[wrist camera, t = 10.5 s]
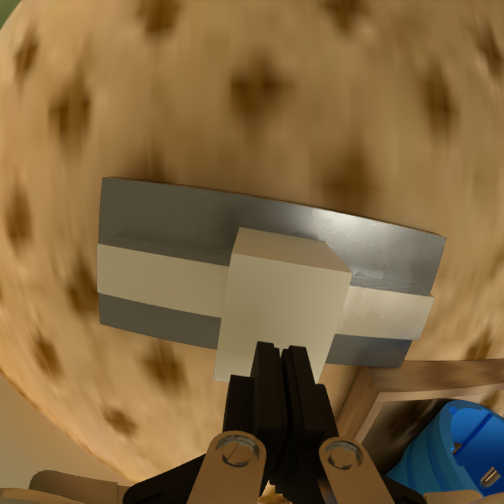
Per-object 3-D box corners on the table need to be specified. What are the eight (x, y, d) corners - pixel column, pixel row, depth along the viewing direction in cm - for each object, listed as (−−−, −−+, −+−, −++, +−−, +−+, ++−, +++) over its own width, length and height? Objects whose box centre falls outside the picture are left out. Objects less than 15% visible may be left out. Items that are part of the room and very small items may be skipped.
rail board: (437, 233, 18) (463, 245, 15) (395, 358, 21) (410, 382, 18) (111, 176, 18) (86, 179, 15) (107, 316, 20) (87, 337, 17)
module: (326, 242, 17) (353, 273, 12) (301, 338, 19) (314, 392, 14) (239, 227, 17) (231, 253, 12) (223, 326, 19) (212, 380, 14)
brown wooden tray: (544, 354, 22) (562, 370, 18) (432, 504, 30) (438, 520, 26) (363, 359, 21) (379, 392, 17) (274, 524, 29) (275, 546, 25)
